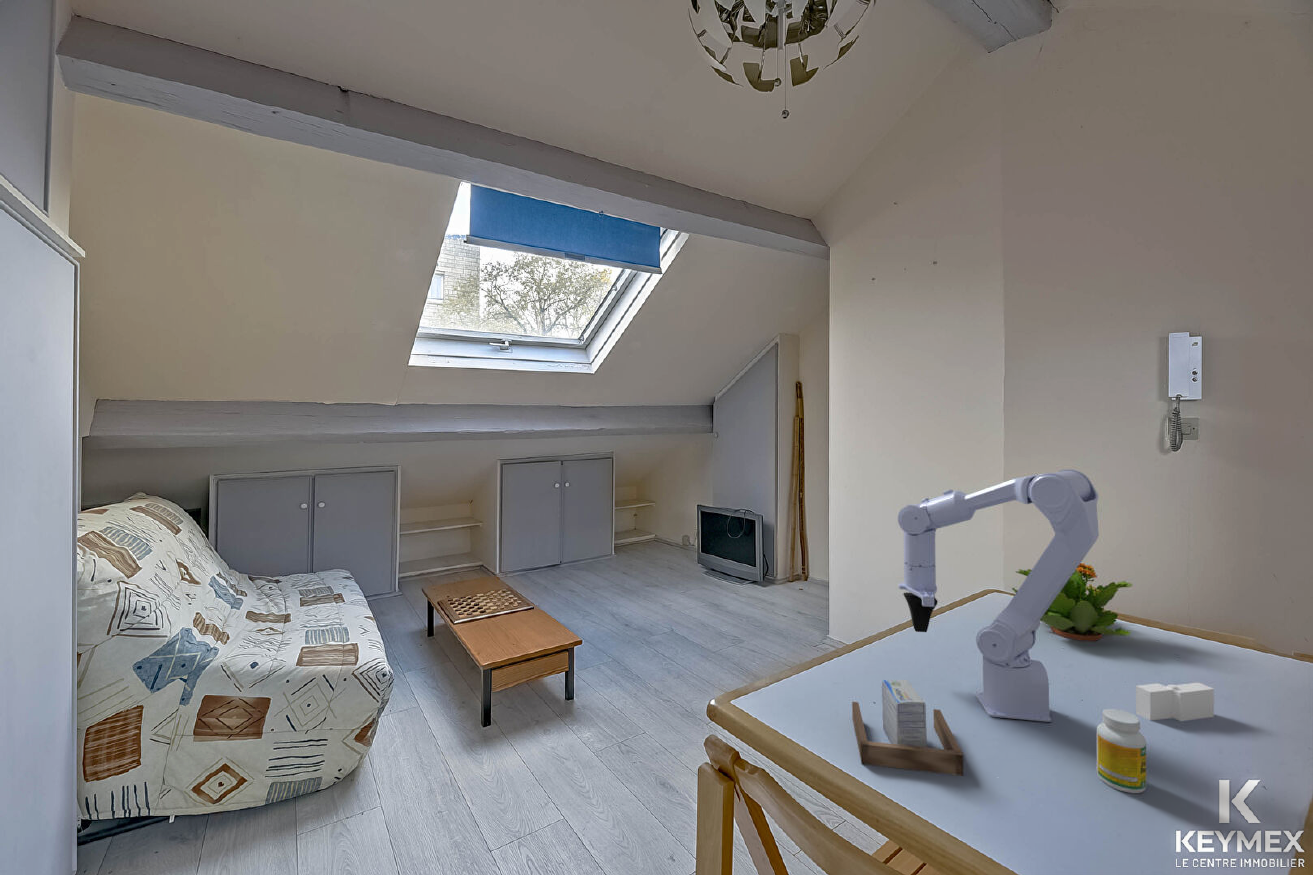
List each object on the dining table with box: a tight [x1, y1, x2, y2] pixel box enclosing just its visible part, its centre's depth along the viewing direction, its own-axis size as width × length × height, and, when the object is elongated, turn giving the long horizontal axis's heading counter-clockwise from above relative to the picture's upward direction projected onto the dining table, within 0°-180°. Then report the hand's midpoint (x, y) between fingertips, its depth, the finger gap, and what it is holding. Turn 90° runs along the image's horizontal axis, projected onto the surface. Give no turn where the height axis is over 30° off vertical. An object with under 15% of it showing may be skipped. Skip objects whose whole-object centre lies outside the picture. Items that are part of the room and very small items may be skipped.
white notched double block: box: [1135, 682, 1215, 722], centre depth 95 cm, size 15×11×6 cm
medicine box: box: [881, 679, 928, 748], centre depth 88 cm, size 8×4×9 cm, turn 174°
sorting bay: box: [851, 701, 965, 777], centre depth 88 cm, size 14×13×3 cm
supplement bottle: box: [1096, 708, 1147, 794], centre depth 78 cm, size 5×5×10 cm
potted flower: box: [1011, 562, 1133, 642], centre depth 130 cm, size 25×24×18 cm
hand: (920, 630), depth 110 cm, fingers closed
